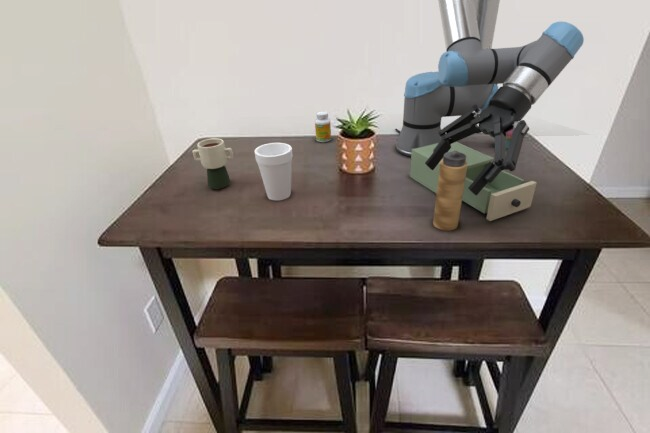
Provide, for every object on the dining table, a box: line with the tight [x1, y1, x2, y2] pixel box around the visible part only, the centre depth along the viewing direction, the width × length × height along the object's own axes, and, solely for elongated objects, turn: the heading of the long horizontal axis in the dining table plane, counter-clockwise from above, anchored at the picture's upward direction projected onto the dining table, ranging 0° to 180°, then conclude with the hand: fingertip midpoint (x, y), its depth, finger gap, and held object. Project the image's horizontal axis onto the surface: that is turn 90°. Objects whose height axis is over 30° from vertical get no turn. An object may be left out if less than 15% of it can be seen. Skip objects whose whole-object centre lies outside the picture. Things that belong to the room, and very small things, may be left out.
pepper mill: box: [432, 151, 468, 232], centre depth 82 cm, size 5×5×18 cm
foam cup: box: [254, 142, 294, 201], centre depth 100 cm, size 10×9×13 cm
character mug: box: [192, 137, 234, 190], centre depth 106 cm, size 11×7×13 cm, turn 91°
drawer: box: [462, 163, 538, 222], centre depth 91 cm, size 16×13×6 cm
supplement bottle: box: [314, 110, 332, 143], centre depth 134 cm, size 5×5×10 cm
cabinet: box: [409, 141, 495, 194], centre depth 102 cm, size 16×14×8 cm
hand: (448, 178), depth 81 cm, fingers open, 13 cm apart
